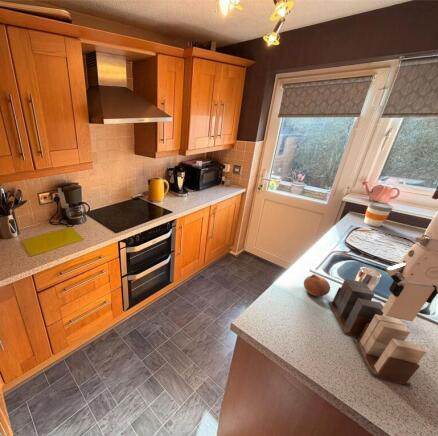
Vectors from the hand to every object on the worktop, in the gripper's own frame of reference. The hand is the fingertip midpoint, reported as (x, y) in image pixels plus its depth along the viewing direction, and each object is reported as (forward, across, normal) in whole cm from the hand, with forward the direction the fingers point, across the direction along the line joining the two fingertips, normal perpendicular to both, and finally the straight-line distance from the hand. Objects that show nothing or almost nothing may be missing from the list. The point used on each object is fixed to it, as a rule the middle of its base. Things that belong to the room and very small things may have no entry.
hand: (409, 296), depth 68 cm
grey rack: (+26, -2, +13) cm, 29 cm away
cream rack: (+26, 0, -3) cm, 26 cm away
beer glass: (+26, +6, +28) cm, 39 cm away
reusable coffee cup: (+26, +51, +123) cm, 136 cm away
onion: (+26, -11, +26) cm, 38 cm away
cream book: (+8, 0, 0) cm, 8 cm away
